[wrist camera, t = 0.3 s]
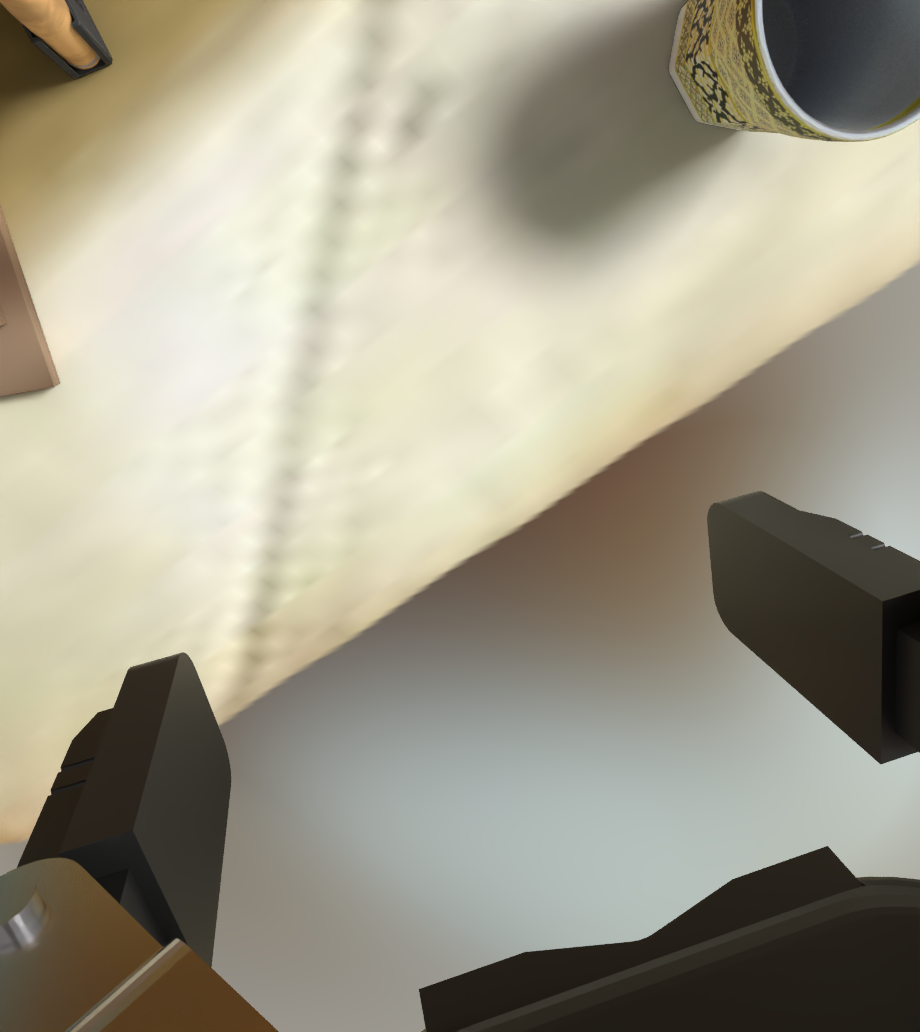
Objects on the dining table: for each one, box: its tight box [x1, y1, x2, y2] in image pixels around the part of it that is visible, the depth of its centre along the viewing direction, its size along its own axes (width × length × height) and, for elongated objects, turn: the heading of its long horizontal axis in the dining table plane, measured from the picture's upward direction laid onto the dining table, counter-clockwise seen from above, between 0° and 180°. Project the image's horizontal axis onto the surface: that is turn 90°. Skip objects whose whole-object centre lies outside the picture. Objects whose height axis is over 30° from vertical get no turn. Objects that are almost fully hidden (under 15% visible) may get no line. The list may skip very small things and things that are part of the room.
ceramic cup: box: [669, 0, 920, 142], centre depth 33 cm, size 13×10×10 cm
